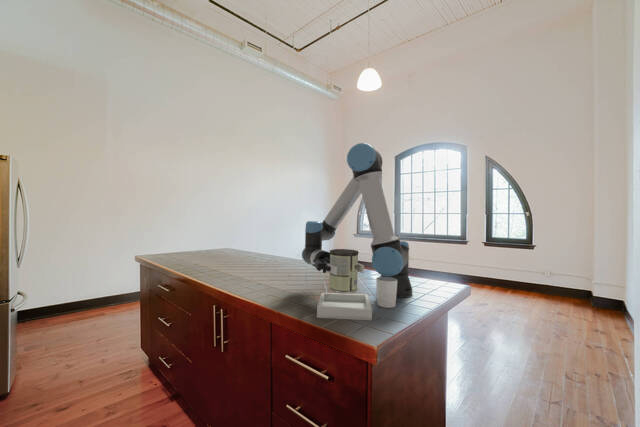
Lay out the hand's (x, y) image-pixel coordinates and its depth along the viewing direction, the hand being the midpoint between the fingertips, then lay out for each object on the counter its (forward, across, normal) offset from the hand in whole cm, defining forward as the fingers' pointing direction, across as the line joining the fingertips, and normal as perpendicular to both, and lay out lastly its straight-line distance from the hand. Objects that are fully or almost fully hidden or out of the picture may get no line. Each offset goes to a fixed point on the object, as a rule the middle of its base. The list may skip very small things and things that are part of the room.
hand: (349, 269), depth 100 cm
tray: (-4, 0, -15) cm, 16 cm away
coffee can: (-4, 0, -8) cm, 9 cm away
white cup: (-3, -18, -15) cm, 24 cm away
